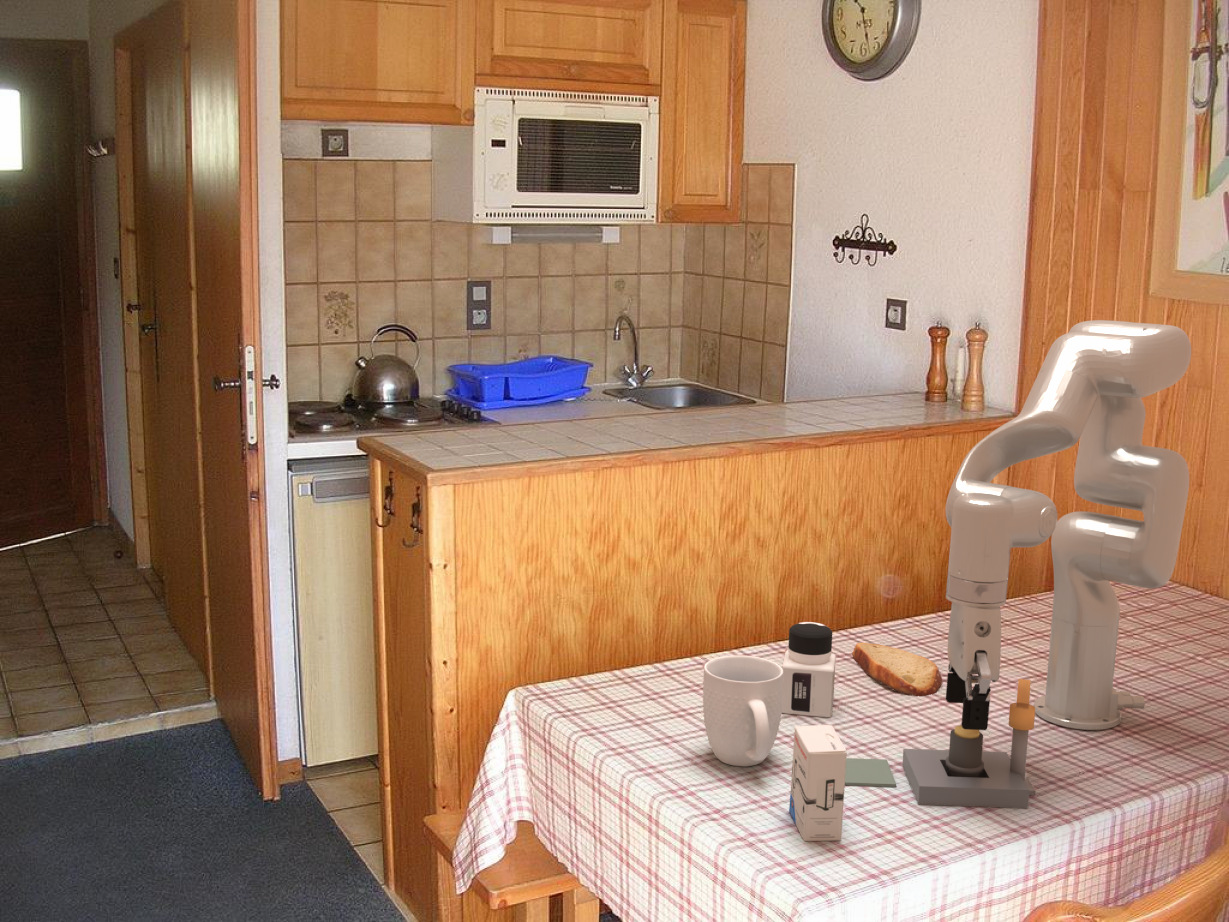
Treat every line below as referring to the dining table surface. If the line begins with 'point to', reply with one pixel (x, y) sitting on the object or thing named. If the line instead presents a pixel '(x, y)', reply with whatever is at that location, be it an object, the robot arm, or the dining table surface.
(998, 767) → the socket
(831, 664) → the container
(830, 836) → the ink box
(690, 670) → the dining table surface
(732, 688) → the mug
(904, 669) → the bread slice
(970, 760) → the plug
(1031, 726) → the clip
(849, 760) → the pad
